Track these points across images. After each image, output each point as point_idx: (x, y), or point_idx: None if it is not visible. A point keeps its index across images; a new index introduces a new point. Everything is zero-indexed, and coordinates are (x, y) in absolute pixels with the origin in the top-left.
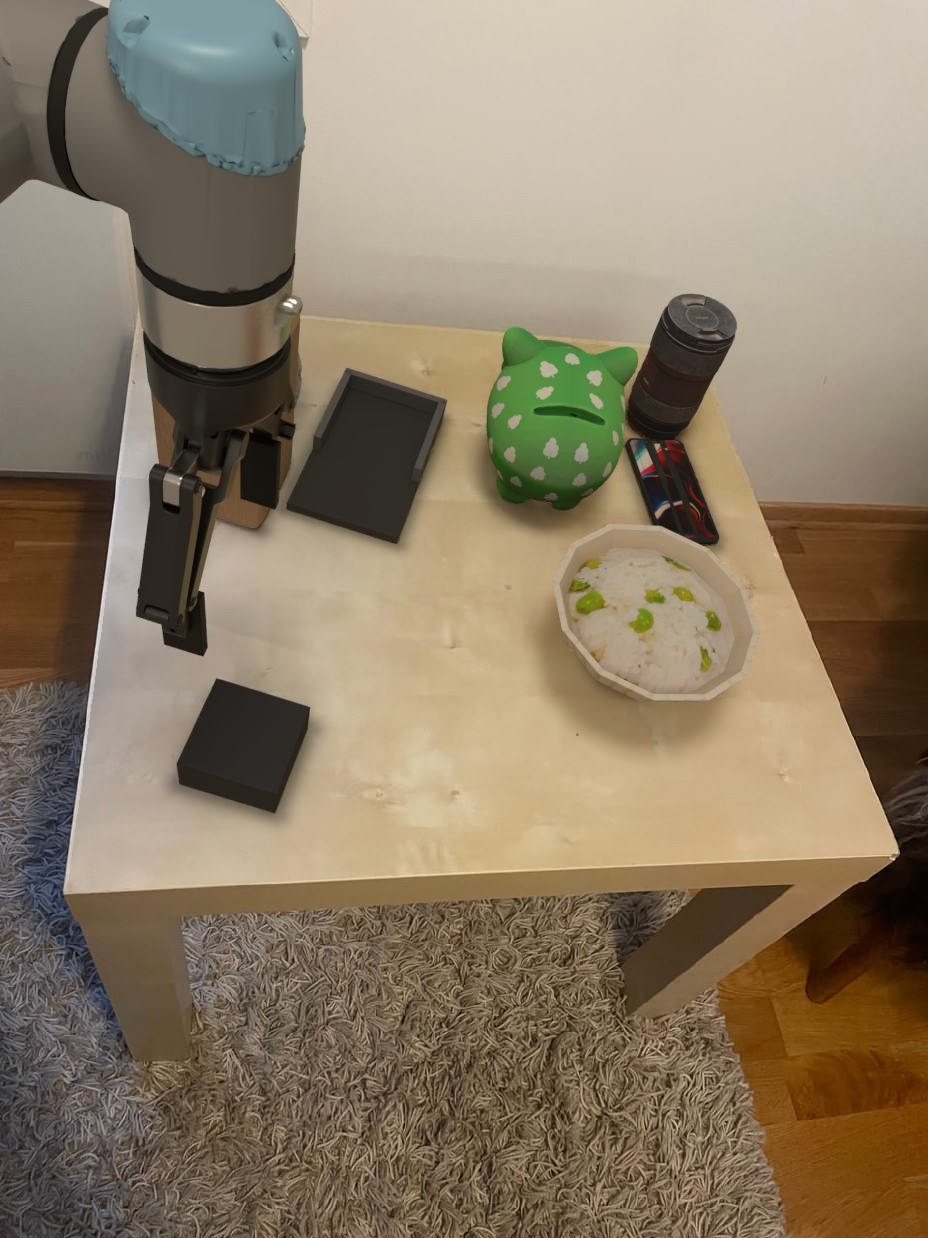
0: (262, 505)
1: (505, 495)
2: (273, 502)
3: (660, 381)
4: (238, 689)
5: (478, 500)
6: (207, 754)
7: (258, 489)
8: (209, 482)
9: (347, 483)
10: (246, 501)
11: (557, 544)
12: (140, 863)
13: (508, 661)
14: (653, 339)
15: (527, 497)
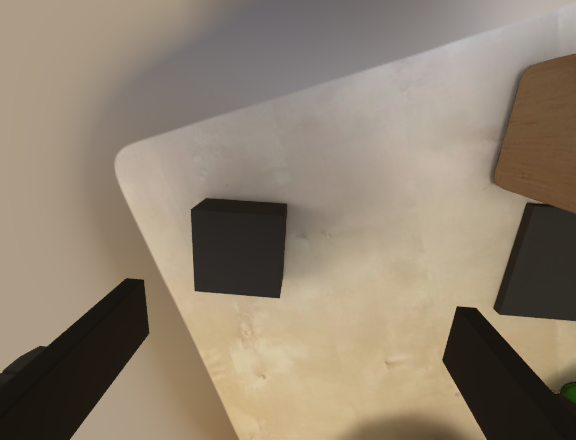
0: (447, 341)
1: (567, 396)
2: (450, 371)
3: None
4: (277, 238)
5: (560, 365)
6: (208, 231)
7: (469, 366)
8: (547, 133)
9: (571, 258)
10: (522, 181)
11: None
12: (138, 191)
13: (382, 399)
14: None
15: None
